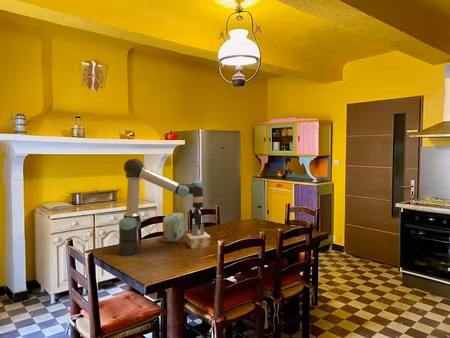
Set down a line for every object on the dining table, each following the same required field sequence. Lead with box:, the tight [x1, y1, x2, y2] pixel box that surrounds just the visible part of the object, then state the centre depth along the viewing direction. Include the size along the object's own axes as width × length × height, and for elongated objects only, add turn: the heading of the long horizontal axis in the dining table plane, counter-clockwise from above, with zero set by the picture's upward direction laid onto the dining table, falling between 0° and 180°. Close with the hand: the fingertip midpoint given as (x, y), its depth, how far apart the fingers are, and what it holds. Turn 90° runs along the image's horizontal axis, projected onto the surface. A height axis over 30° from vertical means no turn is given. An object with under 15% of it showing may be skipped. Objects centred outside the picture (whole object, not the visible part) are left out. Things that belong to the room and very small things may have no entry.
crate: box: [186, 235, 211, 250], centre depth 260 cm, size 14×14×7 cm
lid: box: [185, 222, 211, 239], centre depth 259 cm, size 15×15×10 cm
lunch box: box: [162, 212, 186, 243], centre depth 277 cm, size 27×10×21 cm, turn 168°
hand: (197, 233), depth 260 cm, fingers closed on lid, 3 cm apart
